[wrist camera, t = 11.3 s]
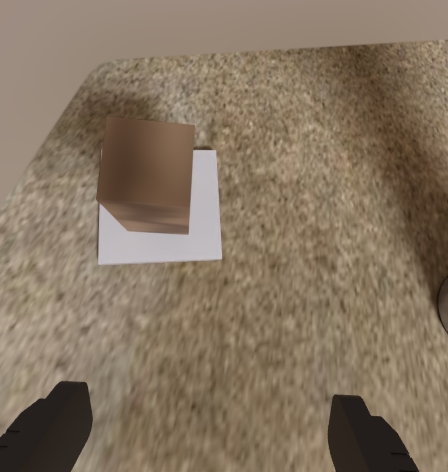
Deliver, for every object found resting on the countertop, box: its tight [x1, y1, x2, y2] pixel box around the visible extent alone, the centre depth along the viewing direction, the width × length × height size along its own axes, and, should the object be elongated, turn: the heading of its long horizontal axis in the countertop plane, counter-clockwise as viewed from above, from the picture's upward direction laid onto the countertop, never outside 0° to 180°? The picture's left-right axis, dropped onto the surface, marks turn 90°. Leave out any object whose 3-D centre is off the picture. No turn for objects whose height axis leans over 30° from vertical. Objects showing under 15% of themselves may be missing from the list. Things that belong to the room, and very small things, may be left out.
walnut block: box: [96, 116, 195, 235], centre depth 24 cm, size 6×6×10 cm
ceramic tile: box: [98, 149, 222, 265], centre depth 29 cm, size 12×12×1 cm
